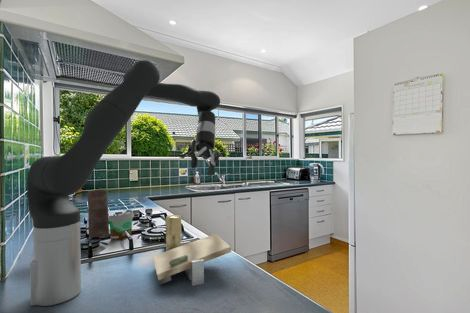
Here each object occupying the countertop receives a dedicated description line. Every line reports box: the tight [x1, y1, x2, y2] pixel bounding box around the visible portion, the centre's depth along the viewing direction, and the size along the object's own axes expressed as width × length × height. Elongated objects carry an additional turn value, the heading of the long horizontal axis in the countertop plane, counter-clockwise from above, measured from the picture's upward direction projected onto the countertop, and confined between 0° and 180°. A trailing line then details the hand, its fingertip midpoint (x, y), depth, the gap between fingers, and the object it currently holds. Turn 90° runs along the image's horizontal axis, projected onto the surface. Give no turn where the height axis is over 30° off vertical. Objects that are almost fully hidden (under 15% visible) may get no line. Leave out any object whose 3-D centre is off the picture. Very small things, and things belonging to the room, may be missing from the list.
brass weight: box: [165, 214, 182, 251], centre depth 89 cm, size 5×5×12 cm
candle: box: [87, 188, 110, 239], centre depth 105 cm, size 8×7×20 cm
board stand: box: [180, 240, 205, 287], centre depth 73 cm, size 3×17×6 cm, turn 22°
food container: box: [108, 209, 135, 241], centre depth 105 cm, size 12×6×10 cm, turn 168°
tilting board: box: [152, 233, 232, 286], centre depth 73 cm, size 20×13×4 cm, turn 112°
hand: (202, 171), depth 96 cm, fingers open, 8 cm apart
